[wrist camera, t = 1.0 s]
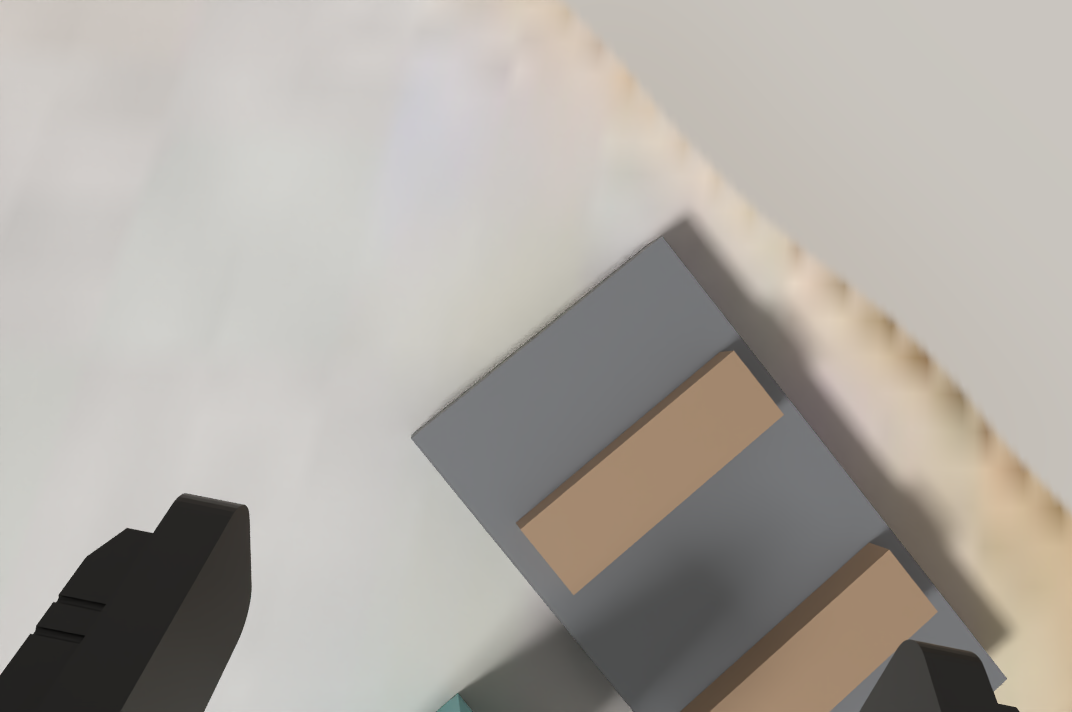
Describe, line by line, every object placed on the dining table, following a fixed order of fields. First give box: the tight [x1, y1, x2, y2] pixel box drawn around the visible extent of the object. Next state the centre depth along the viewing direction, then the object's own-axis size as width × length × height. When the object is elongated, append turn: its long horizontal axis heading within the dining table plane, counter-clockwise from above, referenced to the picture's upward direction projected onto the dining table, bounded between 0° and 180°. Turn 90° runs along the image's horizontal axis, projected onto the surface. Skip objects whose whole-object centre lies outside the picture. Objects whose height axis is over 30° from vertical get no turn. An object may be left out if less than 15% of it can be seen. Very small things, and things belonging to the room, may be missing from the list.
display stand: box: [411, 236, 1007, 712], centre depth 34 cm, size 22×12×4 cm, turn 39°
